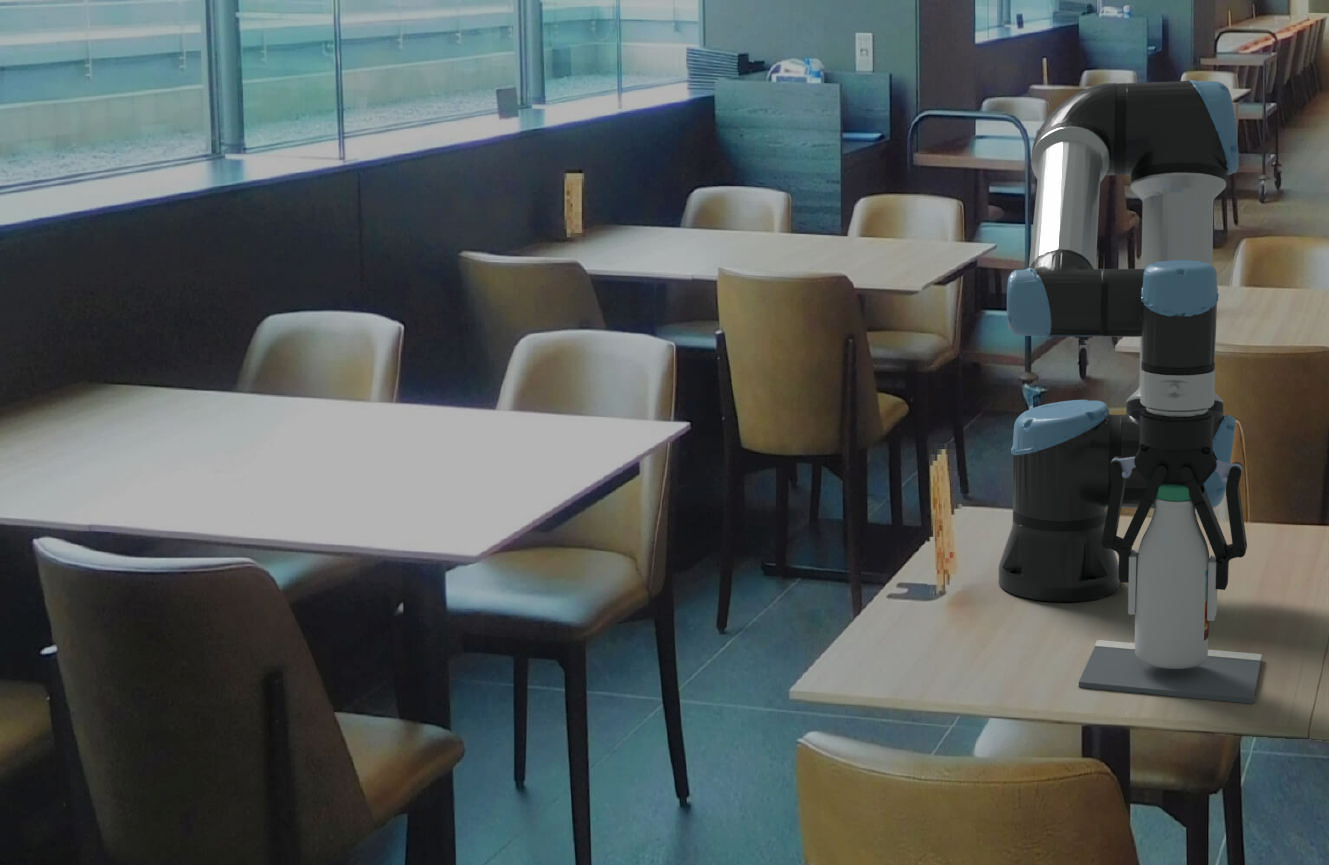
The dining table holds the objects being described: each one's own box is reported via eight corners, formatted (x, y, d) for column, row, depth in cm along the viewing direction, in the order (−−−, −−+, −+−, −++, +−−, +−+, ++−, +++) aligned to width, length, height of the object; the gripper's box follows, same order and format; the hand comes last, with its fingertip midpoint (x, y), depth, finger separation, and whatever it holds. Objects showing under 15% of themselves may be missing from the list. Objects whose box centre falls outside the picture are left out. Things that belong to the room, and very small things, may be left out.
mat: (1078, 687, 193) (1078, 680, 193) (1097, 645, 205) (1097, 639, 205) (1253, 703, 186) (1253, 697, 186) (1261, 660, 198) (1261, 654, 198)
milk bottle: (1196, 675, 189) (1201, 494, 185) (1125, 664, 193) (1128, 486, 189) (1216, 652, 196) (1221, 476, 191) (1146, 642, 200) (1150, 469, 195)
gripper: (1073, 412, 189) (1071, 616, 194) (1276, 420, 181) (1269, 633, 186) (1084, 397, 195) (1082, 595, 201) (1280, 404, 188) (1273, 610, 193)
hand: (1172, 613), depth 193 cm, fingers closed on milk bottle, 7 cm apart
